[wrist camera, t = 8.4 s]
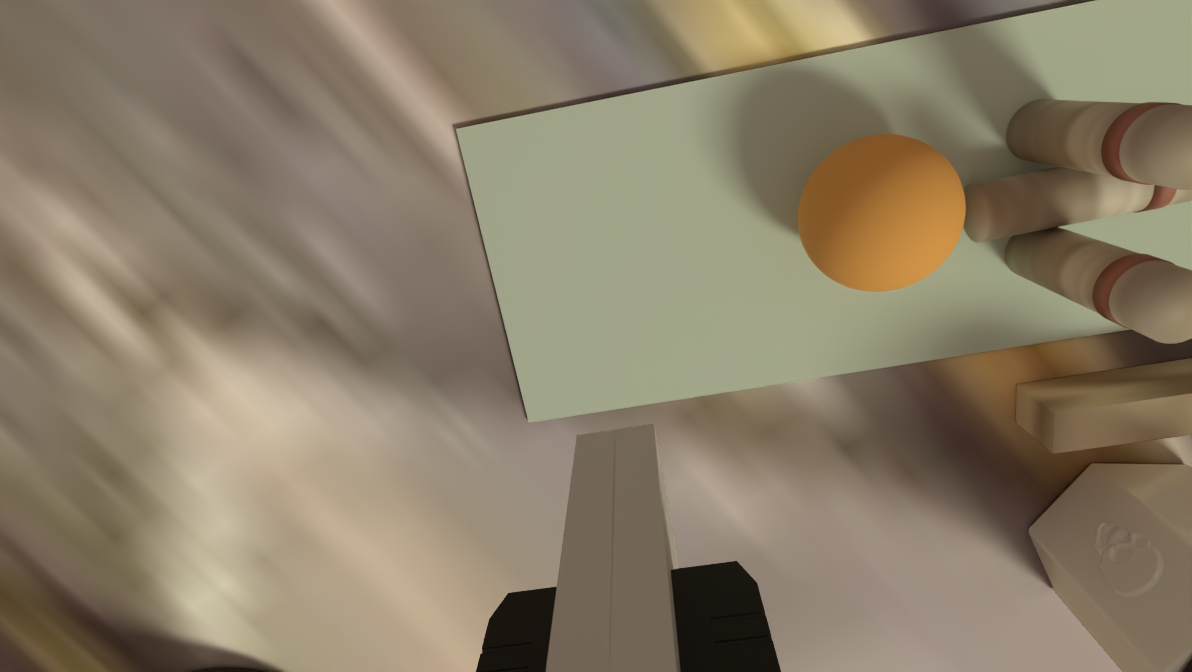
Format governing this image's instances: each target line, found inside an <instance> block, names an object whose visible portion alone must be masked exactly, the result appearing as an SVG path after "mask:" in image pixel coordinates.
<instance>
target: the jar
mask: <svg viewBox="0 0 1192 672" xmlns="http://www.w3.org/2000/svg"><path fill="white" fill-rule="evenodd" d="M1028 532H1029V535H1030V537H1031V540H1032V542H1033V544H1034V546H1035V548H1036V551H1037V553H1038V555H1039V557H1040V560H1041V562H1042V564H1043V566H1044V569H1045V571H1046V573H1047V575H1048V578H1049V580H1050V582H1051V584H1052V587H1053V589H1054V591H1055V593H1056V594H1057V596H1058V597H1059V598H1060V599H1061V600H1062V601H1063V603H1064V604H1065V605H1066V606H1067V607H1068V609H1069V610H1070V611H1071V612H1072V613H1073V614H1074V616H1075V617H1076V618H1077V619H1078V620H1079V621H1080V623H1081V624H1082V625H1083V626H1084V627H1085V628H1086V630H1087V631H1088V632H1089V633H1090V634H1091V636H1092V637H1093V638H1094V639H1095V640H1096V641H1097V643H1098V644H1099V645H1100V646H1101V647H1102V648H1103V650H1104V651H1105V652H1106V653H1107V654H1108V655H1109V657H1110V658H1111V659H1112V660H1113V661H1114V662H1115V664H1116V665H1117V666H1118V667H1119V668H1120V670H1121V671H1122V672H1192V467H1190V466H1188V465H1184V464H1110V463H1093V464H1090V465H1089V466H1088V467H1087V468H1086V469H1085V470H1084V471H1083V472H1082V473H1081V474H1080V475H1079V477H1078V478H1077V479H1076V480H1075V481H1074V482H1073V483H1072V484H1071V485H1070V486H1069V487H1068V488H1067V489H1066V490H1065V491H1064V492H1063V493H1062V494H1061V495H1060V496H1059V497H1058V498H1057V499H1056V500H1055V501H1054V502H1053V504H1052V505H1051V506H1050V507H1049V508H1048V509H1047V510H1046V511H1045V512H1044V513H1043V514H1042V515H1041V516H1040V517H1039V518H1038V519H1037V520H1036V521H1035V522H1034V523H1033V524H1032V525H1031V526H1030V527H1029V529H1028Z"/></svg>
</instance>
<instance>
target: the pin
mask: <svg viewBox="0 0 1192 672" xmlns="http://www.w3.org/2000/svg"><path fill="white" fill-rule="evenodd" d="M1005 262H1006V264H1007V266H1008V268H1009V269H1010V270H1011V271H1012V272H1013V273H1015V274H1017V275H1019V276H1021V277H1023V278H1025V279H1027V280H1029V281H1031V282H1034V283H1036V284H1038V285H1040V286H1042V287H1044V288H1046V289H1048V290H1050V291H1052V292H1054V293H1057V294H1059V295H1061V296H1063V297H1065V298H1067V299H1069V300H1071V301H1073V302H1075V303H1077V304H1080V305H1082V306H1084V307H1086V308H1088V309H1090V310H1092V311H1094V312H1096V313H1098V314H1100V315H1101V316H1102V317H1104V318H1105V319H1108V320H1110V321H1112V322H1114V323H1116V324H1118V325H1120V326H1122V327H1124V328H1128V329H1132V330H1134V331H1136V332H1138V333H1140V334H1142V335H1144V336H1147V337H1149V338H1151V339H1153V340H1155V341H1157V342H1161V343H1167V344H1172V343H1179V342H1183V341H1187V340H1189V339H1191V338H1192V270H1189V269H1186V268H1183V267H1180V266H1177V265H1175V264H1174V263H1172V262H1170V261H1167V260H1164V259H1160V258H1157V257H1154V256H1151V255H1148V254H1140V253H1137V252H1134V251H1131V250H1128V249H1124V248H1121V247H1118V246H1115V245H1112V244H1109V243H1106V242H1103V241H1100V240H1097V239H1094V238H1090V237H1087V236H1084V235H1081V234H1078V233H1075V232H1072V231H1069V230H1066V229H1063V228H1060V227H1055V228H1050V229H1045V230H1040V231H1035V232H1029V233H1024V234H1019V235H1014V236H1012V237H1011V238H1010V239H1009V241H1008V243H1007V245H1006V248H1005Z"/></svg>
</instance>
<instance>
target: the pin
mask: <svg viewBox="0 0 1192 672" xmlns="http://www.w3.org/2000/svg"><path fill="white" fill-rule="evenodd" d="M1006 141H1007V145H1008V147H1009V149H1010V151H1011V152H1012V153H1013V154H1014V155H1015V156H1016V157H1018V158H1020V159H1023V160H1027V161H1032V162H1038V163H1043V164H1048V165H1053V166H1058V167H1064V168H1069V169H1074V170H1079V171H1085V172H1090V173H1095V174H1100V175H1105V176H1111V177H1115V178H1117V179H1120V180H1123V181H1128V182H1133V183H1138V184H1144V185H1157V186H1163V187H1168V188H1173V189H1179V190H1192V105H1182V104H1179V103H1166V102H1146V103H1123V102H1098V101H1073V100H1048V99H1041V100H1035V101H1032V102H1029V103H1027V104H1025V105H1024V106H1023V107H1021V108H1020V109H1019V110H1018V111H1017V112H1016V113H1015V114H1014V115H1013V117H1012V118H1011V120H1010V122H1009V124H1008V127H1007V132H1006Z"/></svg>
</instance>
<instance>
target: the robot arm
mask: <svg viewBox="0 0 1192 672" xmlns="http://www.w3.org/2000/svg"><path fill="white" fill-rule="evenodd" d="M194 672H260V671H255V670H248V669H239V668H214V669H205V670H199V671H194ZM476 672H781V670H780V666H779V663H778V659H777V655H776V652H775V648H774V644H773V641H772V638H771V633H770V629H769V626H768V622H767V618H766V616H765V611H764V607H763V603H762V600H761V596H760V592H759V589H758V585H757V582H756V581H755V580H754V579H753V578H752V577H751V576H750V575H749V574H748V573H747V572H746V571H745V570H744V568H743V567H742V566H741V565H740V564H739V563H738V562H737V561H733V562H726V563H718V564H710V565H703V566H695V567H687V568H680V569H678V562H677V553H676V545H675V538H674V533H673V527H672V521H671V516H670V510H669V505H668V499H667V494H666V488H665V483H664V477H663V472H662V466H661V460H660V455H659V449H658V444H657V438H656V433H655V427H654V424H648V425H642V426H635V427H629V428H622V429H615V430H609V431H602V432H596V433H589V434H583V435H577V438H576V446H575V454H574V461H573V469H572V476H571V484H570V491H569V499H568V506H567V514H566V521H565V529H564V537H563V544H562V552H561V559H560V567H559V574H558V582H557V587H551V588H543V589H536V590H528V591H520V592H513V593H508V594H507V596H506V597H505V598H504V600H503V601H502V603H501V604H500V605H499V607H498V608H497V609H496V611H495V612H494V614H493V615H492V616H491V618H490V619H489V622H488V626H487V630H486V634H485V638H484V642H483V646H482V654H480V658H479V662H478V666H477V670H476Z"/></svg>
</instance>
